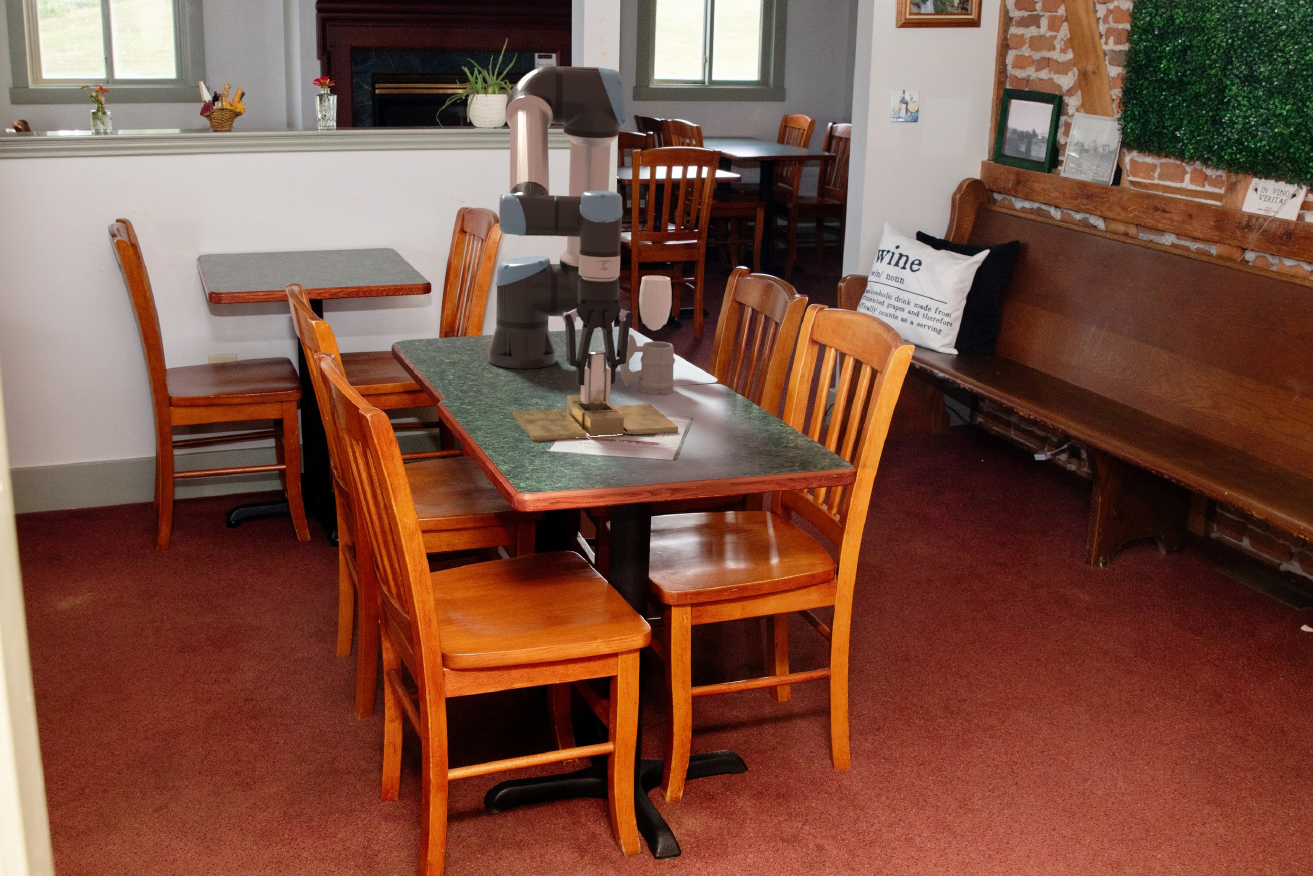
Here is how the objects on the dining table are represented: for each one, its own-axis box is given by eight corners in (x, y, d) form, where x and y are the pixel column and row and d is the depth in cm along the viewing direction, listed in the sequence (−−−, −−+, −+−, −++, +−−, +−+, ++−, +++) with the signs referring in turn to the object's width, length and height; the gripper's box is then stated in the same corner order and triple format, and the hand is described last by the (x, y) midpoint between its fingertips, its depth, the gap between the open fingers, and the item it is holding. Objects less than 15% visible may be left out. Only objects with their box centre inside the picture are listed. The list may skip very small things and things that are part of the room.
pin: (582, 422, 235) (584, 350, 231) (600, 421, 237) (603, 350, 233) (587, 427, 232) (590, 355, 228) (606, 426, 233) (608, 354, 229)
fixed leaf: (512, 416, 237) (513, 398, 236) (599, 412, 243) (600, 394, 242) (532, 441, 223) (533, 422, 222) (624, 435, 228) (625, 417, 227)
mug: (678, 395, 258) (681, 338, 254) (622, 395, 255) (624, 338, 252) (670, 385, 265) (672, 330, 262) (615, 386, 262) (617, 330, 259)
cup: (670, 367, 281) (675, 276, 275) (665, 374, 274) (669, 281, 268) (639, 364, 282) (643, 274, 276) (633, 371, 275) (637, 279, 269)
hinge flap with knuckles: (566, 412, 241) (567, 395, 240) (650, 408, 246) (650, 391, 245) (590, 436, 226) (590, 418, 225) (677, 431, 232) (678, 413, 231)
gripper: (560, 281, 220) (557, 408, 227) (648, 280, 226) (643, 404, 232) (549, 274, 227) (547, 397, 234) (635, 273, 232) (630, 394, 239)
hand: (595, 400), depth 233 cm, fingers closed on pin, 3 cm apart
